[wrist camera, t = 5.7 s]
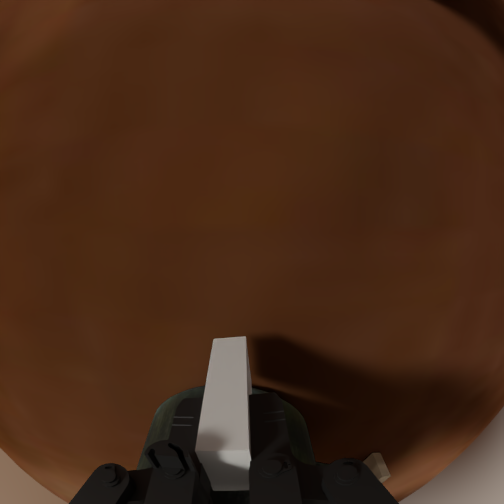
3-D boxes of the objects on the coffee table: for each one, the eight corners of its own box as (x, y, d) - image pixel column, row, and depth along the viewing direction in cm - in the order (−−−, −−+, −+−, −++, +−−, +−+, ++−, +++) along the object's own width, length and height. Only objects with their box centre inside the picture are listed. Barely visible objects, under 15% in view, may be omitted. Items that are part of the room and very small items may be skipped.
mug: (149, 355, 15) (68, 538, 3) (377, 384, 16) (457, 524, 4) (151, 453, 17) (120, 571, 5) (321, 471, 18) (348, 579, 6)
